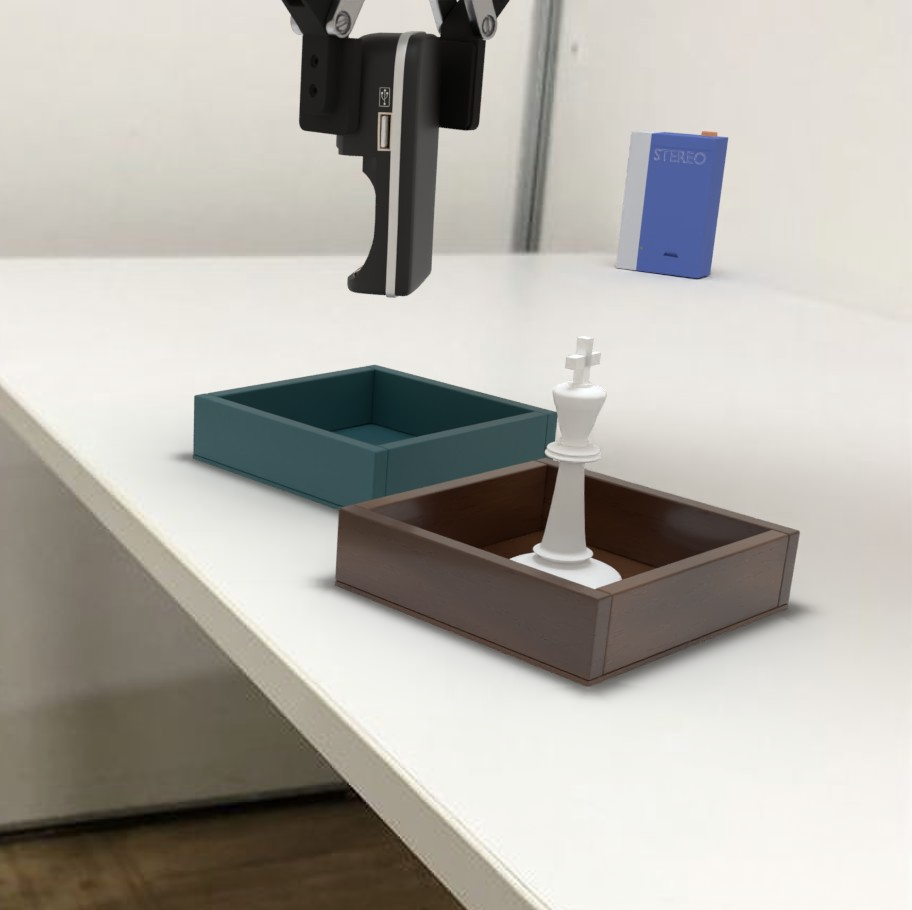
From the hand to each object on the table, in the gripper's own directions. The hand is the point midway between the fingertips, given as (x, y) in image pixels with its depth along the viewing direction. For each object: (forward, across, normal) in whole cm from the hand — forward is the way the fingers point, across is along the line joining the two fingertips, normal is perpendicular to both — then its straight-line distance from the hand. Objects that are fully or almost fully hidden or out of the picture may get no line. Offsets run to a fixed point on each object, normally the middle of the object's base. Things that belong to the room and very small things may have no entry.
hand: (390, 127), depth 74 cm
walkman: (+17, +67, +30) cm, 75 cm away
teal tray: (+17, 0, 0) cm, 17 cm away
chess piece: (+16, -7, -18) cm, 25 cm away
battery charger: (+8, 0, 0) cm, 8 cm away
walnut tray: (+16, -7, -18) cm, 25 cm away
